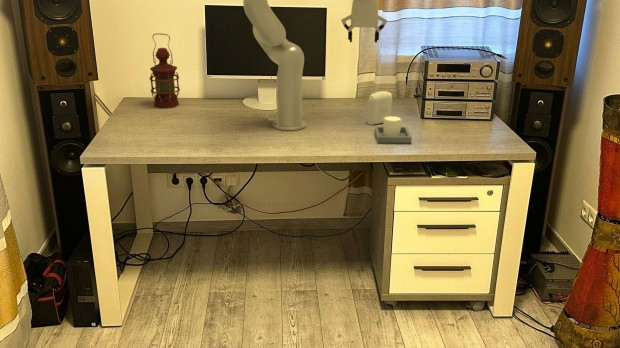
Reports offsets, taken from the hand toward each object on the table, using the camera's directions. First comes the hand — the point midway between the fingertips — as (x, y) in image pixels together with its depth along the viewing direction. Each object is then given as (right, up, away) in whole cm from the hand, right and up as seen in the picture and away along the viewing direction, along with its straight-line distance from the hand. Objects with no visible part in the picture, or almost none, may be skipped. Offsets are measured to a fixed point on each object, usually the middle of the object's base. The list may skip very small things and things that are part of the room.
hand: (363, 41), depth 244 cm
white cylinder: (+9, -37, -12) cm, 40 cm away
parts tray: (+10, -38, -12) cm, 41 cm away
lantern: (-81, -22, +25) cm, 88 cm away
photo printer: (+7, -31, +6) cm, 32 cm away
